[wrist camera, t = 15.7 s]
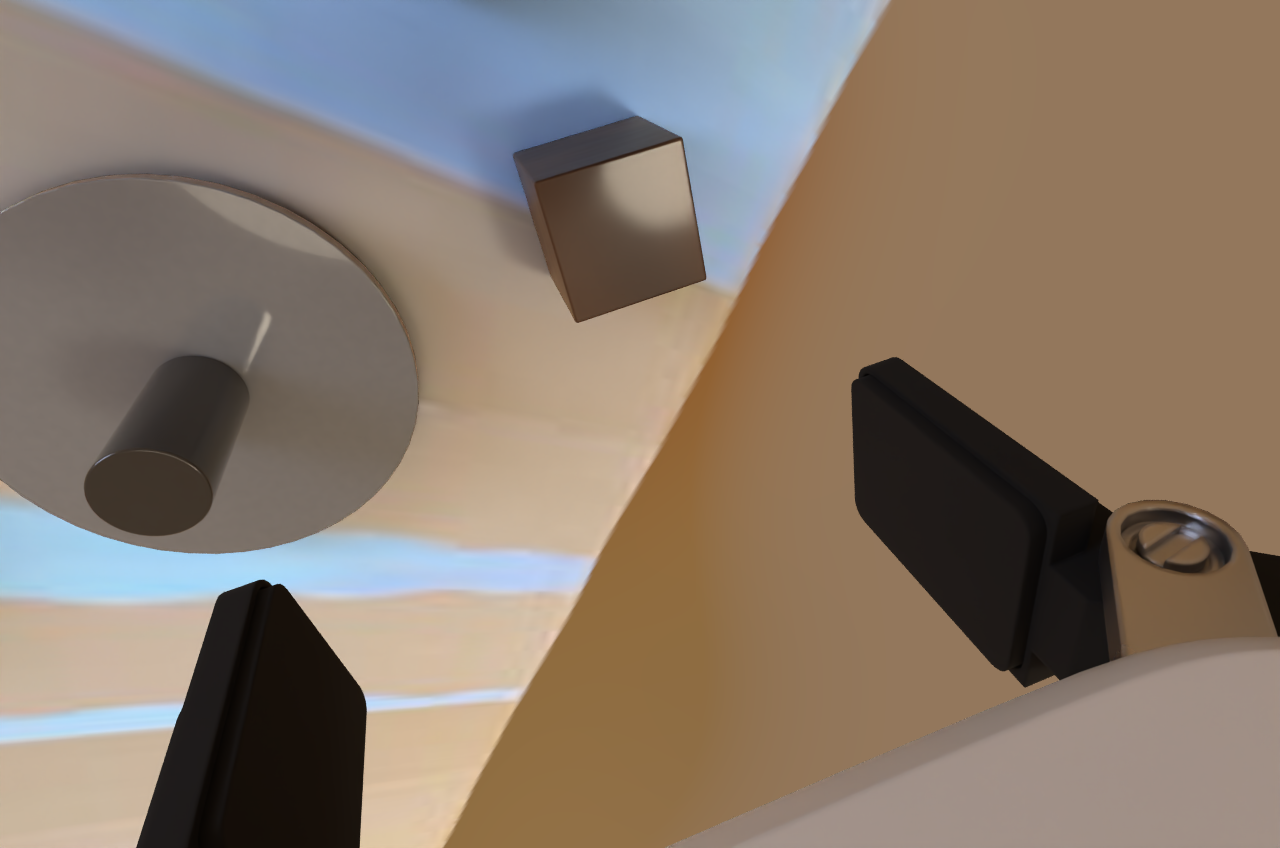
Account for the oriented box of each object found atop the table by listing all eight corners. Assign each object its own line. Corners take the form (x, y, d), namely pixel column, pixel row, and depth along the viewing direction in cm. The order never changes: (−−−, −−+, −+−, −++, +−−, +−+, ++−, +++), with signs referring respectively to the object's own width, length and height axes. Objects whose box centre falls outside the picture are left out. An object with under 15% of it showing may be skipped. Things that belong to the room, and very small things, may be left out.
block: (550, 277, 25) (576, 324, 21) (511, 153, 22) (533, 182, 18) (664, 240, 25) (707, 280, 22) (638, 114, 23) (682, 136, 19)
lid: (-146, 160, 18) (-391, 232, 12) (400, 175, 21) (400, 236, 16) (40, 554, 24) (-63, 714, 19) (430, 512, 28) (437, 634, 23)
